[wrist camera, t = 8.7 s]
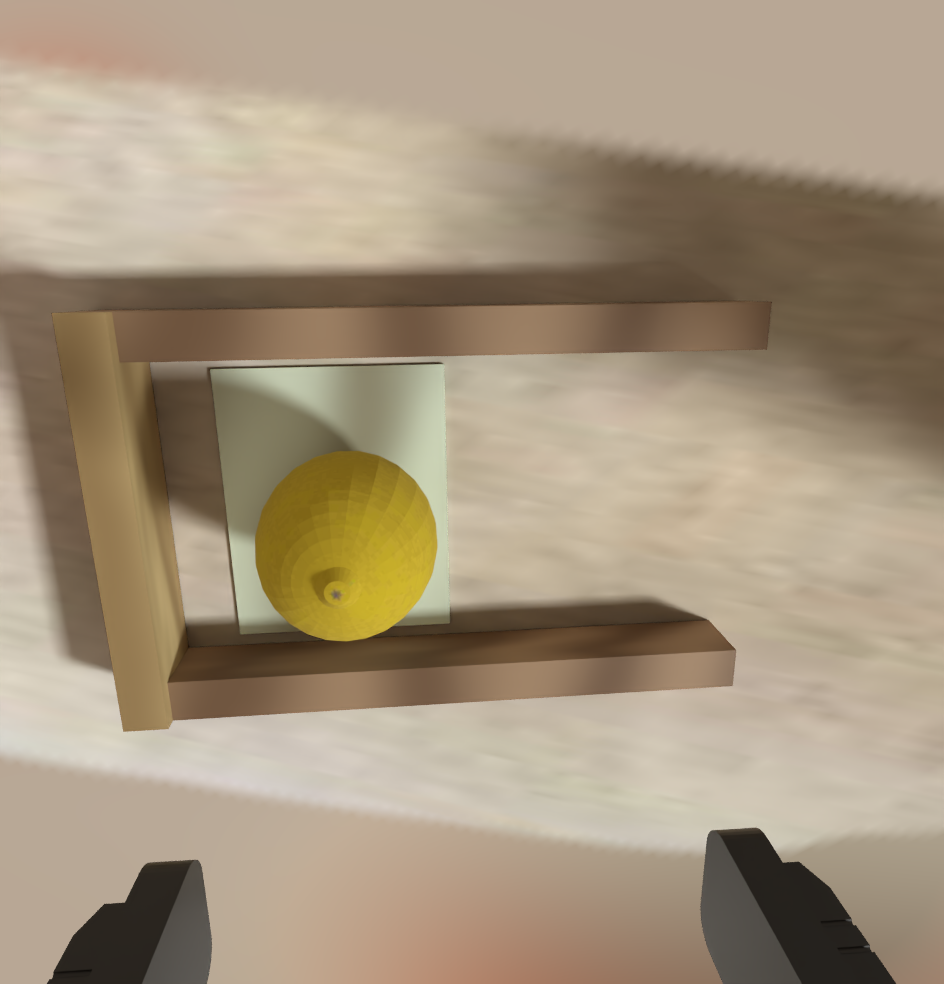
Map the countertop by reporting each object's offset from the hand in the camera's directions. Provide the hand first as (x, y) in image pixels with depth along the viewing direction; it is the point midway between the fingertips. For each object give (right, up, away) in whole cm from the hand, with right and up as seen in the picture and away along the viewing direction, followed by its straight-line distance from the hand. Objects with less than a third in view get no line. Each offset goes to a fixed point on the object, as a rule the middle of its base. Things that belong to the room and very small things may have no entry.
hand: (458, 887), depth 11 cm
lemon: (-4, +6, +15) cm, 16 cm away
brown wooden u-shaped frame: (-1, +6, +15) cm, 16 cm away
